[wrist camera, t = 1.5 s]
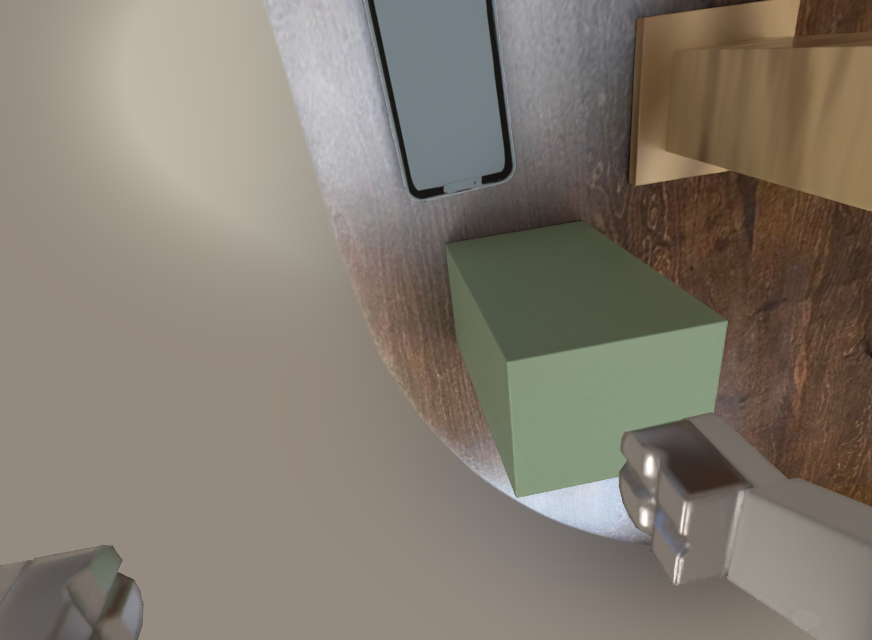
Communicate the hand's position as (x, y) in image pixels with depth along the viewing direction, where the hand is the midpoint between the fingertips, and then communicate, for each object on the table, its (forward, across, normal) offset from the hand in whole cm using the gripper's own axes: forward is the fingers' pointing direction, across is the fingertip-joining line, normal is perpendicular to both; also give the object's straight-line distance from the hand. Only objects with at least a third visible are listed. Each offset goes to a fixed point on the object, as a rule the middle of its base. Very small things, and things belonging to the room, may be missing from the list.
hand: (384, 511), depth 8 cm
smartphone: (+28, -6, -5) cm, 29 cm away
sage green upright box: (+28, -11, +10) cm, 31 cm away
